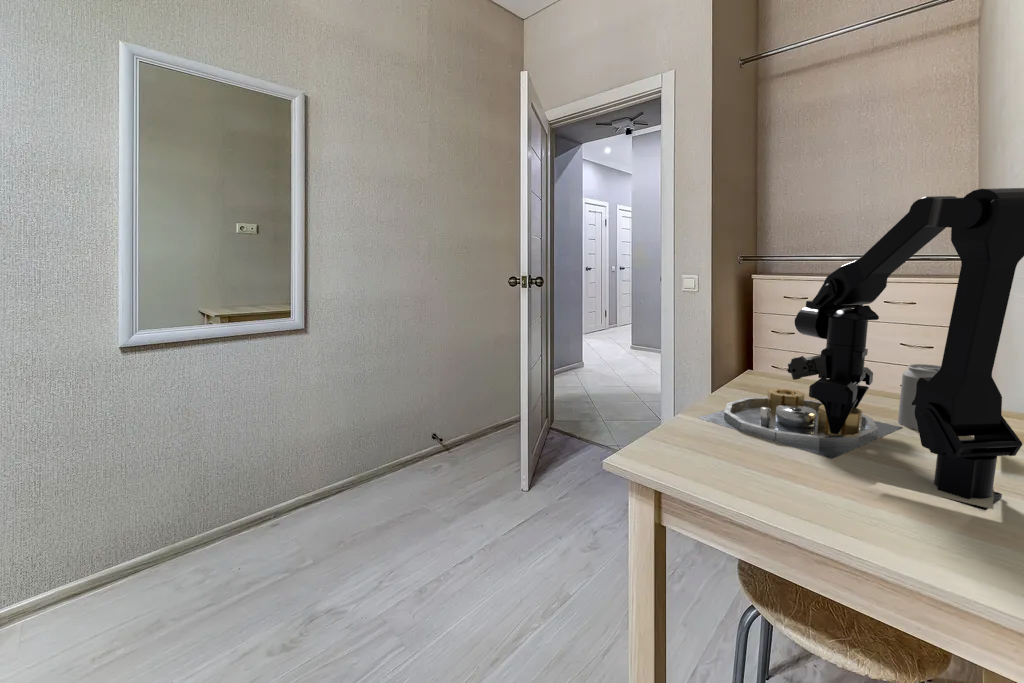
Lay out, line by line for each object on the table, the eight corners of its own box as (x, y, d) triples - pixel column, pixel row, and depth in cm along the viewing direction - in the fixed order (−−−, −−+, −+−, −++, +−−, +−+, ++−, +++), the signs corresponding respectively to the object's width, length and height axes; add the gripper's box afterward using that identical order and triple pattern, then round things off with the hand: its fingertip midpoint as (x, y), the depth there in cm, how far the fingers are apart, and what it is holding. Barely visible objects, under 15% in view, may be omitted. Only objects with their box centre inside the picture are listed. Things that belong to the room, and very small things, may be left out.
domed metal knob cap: (803, 430, 88) (804, 416, 87) (768, 421, 93) (769, 407, 93) (822, 423, 91) (823, 409, 91) (787, 414, 97) (788, 401, 96)
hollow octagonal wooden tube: (855, 439, 83) (857, 416, 82) (814, 431, 87) (815, 409, 87) (862, 429, 87) (864, 408, 87) (822, 422, 92) (824, 402, 91)
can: (960, 438, 85) (969, 371, 83) (911, 436, 86) (919, 370, 84) (933, 424, 92) (940, 362, 90) (888, 422, 94) (894, 362, 92)
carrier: (831, 464, 75) (833, 437, 75) (696, 422, 97) (697, 400, 96) (902, 432, 88) (904, 408, 87) (769, 401, 109) (770, 382, 109)
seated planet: (791, 418, 95) (792, 398, 94) (761, 410, 100) (762, 391, 99) (808, 412, 98) (810, 393, 97) (778, 405, 103) (779, 386, 102)
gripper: (808, 333, 97) (802, 408, 99) (778, 346, 84) (773, 432, 86) (877, 338, 89) (869, 419, 92) (856, 353, 76) (847, 447, 79)
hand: (838, 428), depth 87 cm, fingers closed on hollow octagonal wooden tube, 6 cm apart
